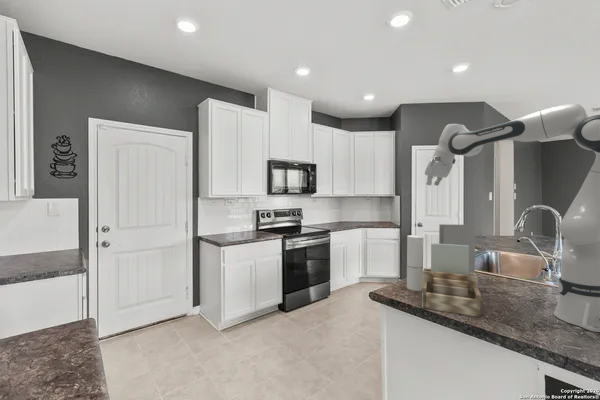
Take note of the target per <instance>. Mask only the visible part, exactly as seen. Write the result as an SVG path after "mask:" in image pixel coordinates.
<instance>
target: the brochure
mask: <svg viewBox="0 0 600 400" xmlns="http://www.w3.org/2000/svg"><path fill="white" fill-rule="evenodd" d="M438 227H439V231H438V233H439V235H438V237H439V238H438V242H439V244H453V245H467V246H469V273H474V274H476V272H475V269H476V226H475V225H471V224H439V226H438Z"/></svg>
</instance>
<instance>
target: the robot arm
mask: <svg viewBox="0 0 600 400" xmlns="http://www.w3.org/2000/svg"><path fill="white" fill-rule="evenodd" d="M558 136H559V137H560V136H571V137H572V138H573V139H574V141H575V143H576V145H578V147H579V148H581V149H583V150H586V151H589V152H594V154H595V159H594V162H593V164H592V166H591V167H590V170H589V171H588V173H587V175H586V178H585V179H584V182H583V183H582V185H581V186H580V189H579V191H578V192H577V194H576V196H575V197H574V199H573V201H572V202H571V204H570V205H569V207H568V209H567V210H566V212H565V214H564V216H563V218H562V220H561V222H560V224H559V227H558V228H559V233H560V235H561V236H562V237H563V245H562V251H561V257H560V258H561V260H560V277H559V278H558V287H557V289H558V293H559V295H558V301H557V304H556V307H555V309H554V312H553V315H554V316H555V317H556V318H557V319H559V320H561V321H564V322H565V323H568V324H570V325H574V326H578V327H581V328H583V329H585V330H587V331H590V332H594V333H600V114H596V115H591V116H588V114H587V111H586V109H585V108H584V107H583V106H582V105H581V104H579V103H575V102H573V103H565V104H560V105H556V106H552V107H547V108H545V109H544V108H543V109H541V110H538V111H534V112H532V113H529V114H526V115H524V116H523V115H522V116H521V117H518V118H516V119H513V120H510V121H506V122H503V123H500V124H495V125H493V126H489V127H485V128H481V129H478V130H469V129H468V128H467V127H466V126H465V125H464V124H462V123H457V122H456V123H447V125H445V127H444V128H443V130H442V133H441V135H440V137H439V138H438V139H439V140H438V144H437V147H435V150H434V153H433V155H432V159H431V160H429V162H428V164H427V165H426V168H425V171H424V175H425V176H427V179H426V183H425V185H427V186H432V183H433V182H432V181H433V179H434V178H436V180H435V181H434V183H433V185H434V186H438V187H439V185H440V184H441V181H442V180H443V178H447V177H449V175H450V172H451V170H452V168H453V165H455V163H456V157H455V156H463V157H474V156H475V157H476V156H477V155H479V154H480V153H481V152H482V151H483V149H484V146H485V145H488V144H492V143H496V142H501V141H517V142H523V143H529V142H537V141H542V140H547V139H551V138H555V137H558Z"/></svg>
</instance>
